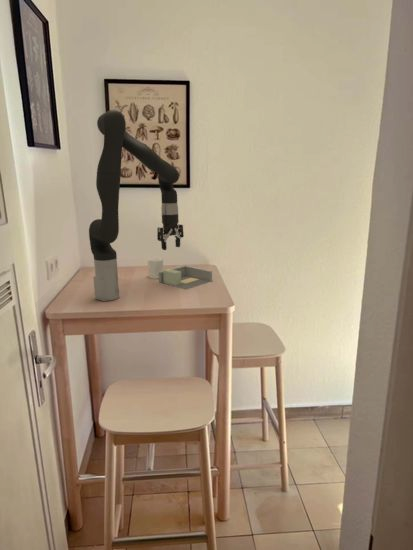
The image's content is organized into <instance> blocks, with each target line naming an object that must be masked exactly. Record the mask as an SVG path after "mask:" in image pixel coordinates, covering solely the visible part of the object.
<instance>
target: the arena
mask: <svg viewBox="0 0 413 550" xmlns="http://www.w3.org/2000/svg"><path fill="white" fill-rule="evenodd" d="M170 269H171V270H176V271H180V272H181V284H180V285H176V286H174V285H170V284H166V283H164V280H163V271H164V270H163V271H162V272H159V278H158V283H159V284H162V285H163V284H164V285H167V286H171V287H176V288H178V289H182V290H186V291H187V290H190V289H192V288H195V287H198V286H201V285H205V284H207V283H211V282H213V270H210V269H204V268H199V267H194V266H189V265H183V266H178V267H175V268H170Z"/></svg>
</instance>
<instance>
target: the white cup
mask: <svg viewBox="0 0 413 550" xmlns="http://www.w3.org/2000/svg"><path fill="white" fill-rule="evenodd" d="M147 268H148V270H147V271H148V275H149V276H148V277H149V278H150V279H153V280H154V279H155V280H156V279H158V280H159V272H162V271H164V258H163V257H150V258H147Z"/></svg>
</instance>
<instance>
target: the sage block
mask: <svg viewBox="0 0 413 550" xmlns="http://www.w3.org/2000/svg"><path fill="white" fill-rule="evenodd" d="M171 269H172V268H168V269H163V280H164V283H166V284H170V285H174V286H176V285H180V284H181V272H180V271H176V270H171ZM166 284H165V285H166ZM170 285H169V286H170ZM174 286H173V287H174Z"/></svg>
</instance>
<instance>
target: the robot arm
mask: <svg viewBox="0 0 413 550" xmlns="http://www.w3.org/2000/svg"><path fill="white" fill-rule="evenodd" d="M126 125H127V123H126V118H125V116H124V114H123V113H122V112H121V111H120V110H117V109H111V110H107V111H106V112H104V113H102V114H100V116H99V117H98V118H97V122H96V126H97V129H98V131H99V132H100V133H101V134H102V135H103V148H102V152H101V155H100V158H99V160H98V163H97V169H96V181H95V185H96V192H97V195H98V197H99V200H100V203H101V218H100V219H99V218H97V219H94V220H92V222H91V223H90V224H89V228H88V237H89V238H88V239H89V243H90V244H89V245H90V250H91V253H92V255H93V263H94V275H95V276H94V277H93V286H94V287H93V289H94V298H95V300H98V301H102V302H107V301H108V302H109V301H115V300H117V299H119V298H120V286H119V270H118V257H117V256H118V255H117V251H116V250H115V249H114V248H113V246H112V245H111V244H112V243H114V242H116V240H117V239H118V237H119V232H120V230H119V229H120V228H119V227H120V225H119V224H120V223H119V221H120V220H119V205H120V204H119V202H120V201H119V200H120V186H121V178H122V177H121V175H122V170H121V169H122V154H123V153H122V152H123V149H124V150H126V151H127V152H128V153H130V154H131V155H132V156H133V157H134V158H136V160H138V161H139V162H140V163H141V164H143V165H144V166H145V168H147V169H148V170H150V171H151V172H154V173H156V174H157V179H158V184H159V190H160V194H161V207H160V208H161V223H162V227H159V226H158V227H157V239H156V240H157V241H158V242H160V243H161V249H162V251H166V250H167V248H168V247H167V241H168V238H169V237H171V236H174V238H175V241H174V243H175V247H176V248H181V239H182V238H184V225H183V224H179V206H178V192H177V190H176V189H175V187H174V184H176V183H178V181H179V178H180V172H179V171H178V170H177V168H176V167H175V166H173V165H172V164H171V163H170V162H168V161H166V160H165V159H163V158H162V157H161V156H159V154H157V152H155V151H154V150H153V149H152V148H151V147H150V146H148V145H147V144H145V143H144V142H141V141H140V140H138V139H137V138H135V137H134V136H132V135H131V134H129V133H128V131H126V127H127V126H126Z"/></svg>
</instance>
